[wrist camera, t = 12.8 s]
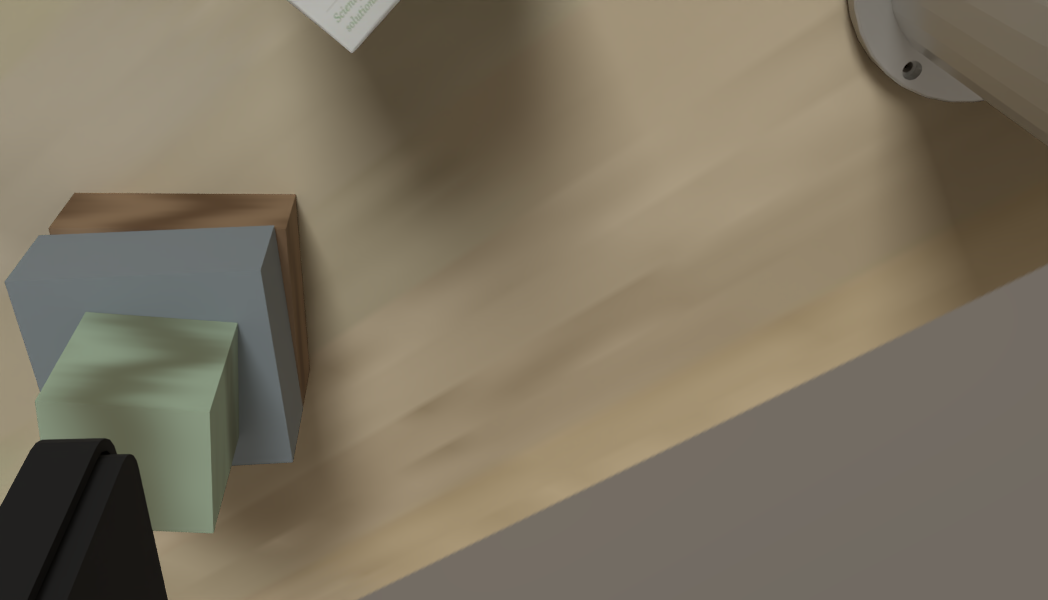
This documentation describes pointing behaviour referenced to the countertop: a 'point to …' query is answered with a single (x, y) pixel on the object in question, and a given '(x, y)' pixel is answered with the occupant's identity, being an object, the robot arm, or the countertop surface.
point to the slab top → (173, 309)
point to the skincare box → (346, 17)
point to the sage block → (153, 406)
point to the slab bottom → (203, 213)
